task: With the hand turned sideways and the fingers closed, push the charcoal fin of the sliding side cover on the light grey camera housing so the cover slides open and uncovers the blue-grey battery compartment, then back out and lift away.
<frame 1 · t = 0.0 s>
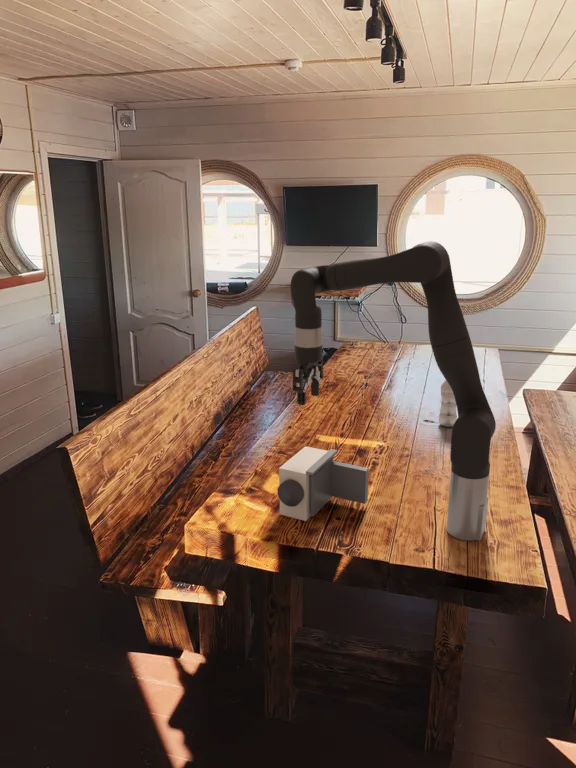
hand: (308, 399, 169), 29 cm above the table, tool pointing down, fingers open, 8 cm apart
camera housing: (305, 504, 172), on the table
side door: (339, 490, 165), point 7 cm above the table, slide at 0.0 cm
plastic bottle: (447, 426, 228), on the table
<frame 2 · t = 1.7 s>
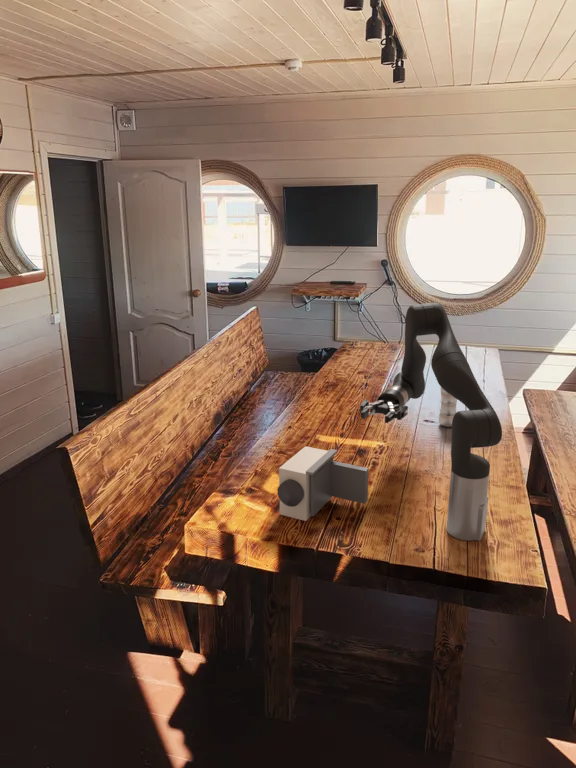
hand: (374, 417, 175), 22 cm above the table, tool horizontal, fingers open, 6 cm apart
nothing on the table moved.
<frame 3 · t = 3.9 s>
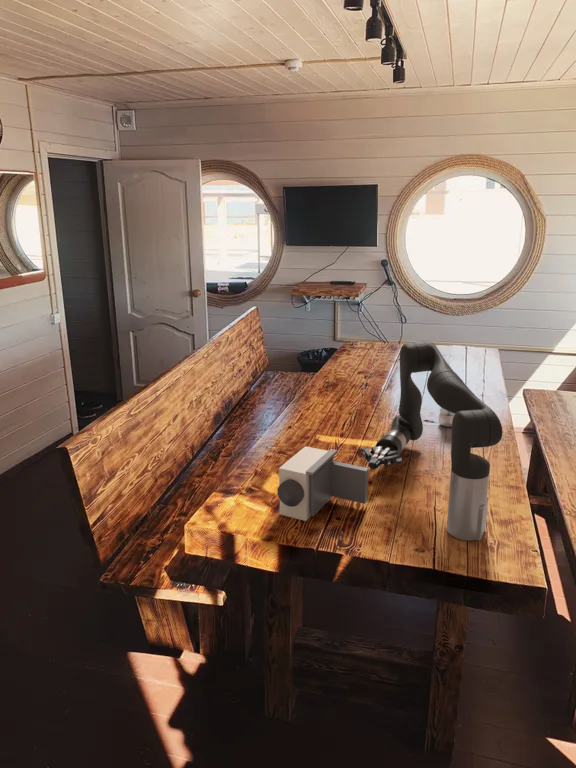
hand: (372, 466, 179), 7 cm above the table, tool horizontal, fingers closed
nothing on the table moved.
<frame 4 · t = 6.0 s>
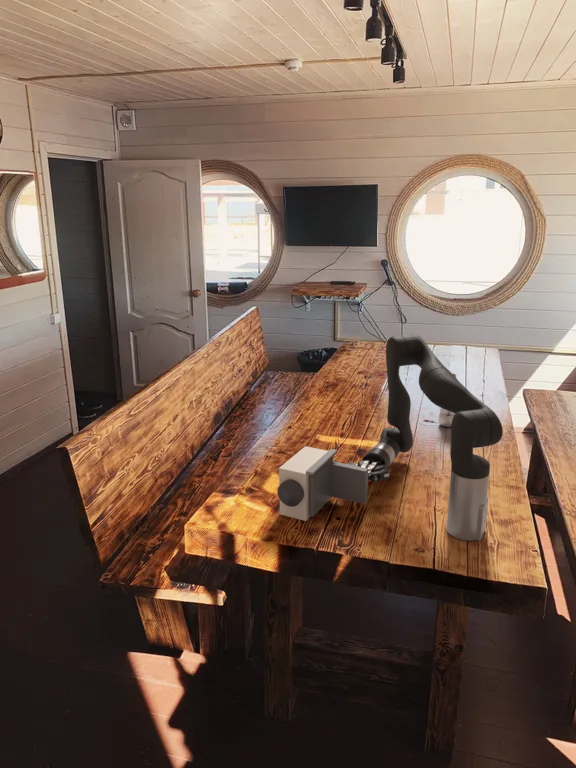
hand: (357, 482, 169), 7 cm above the table, tool horizontal, fingers closed
side door: (339, 490, 165), point 7 cm above the table, slide at 0.2 cm, touching gripper
everything else where it was.
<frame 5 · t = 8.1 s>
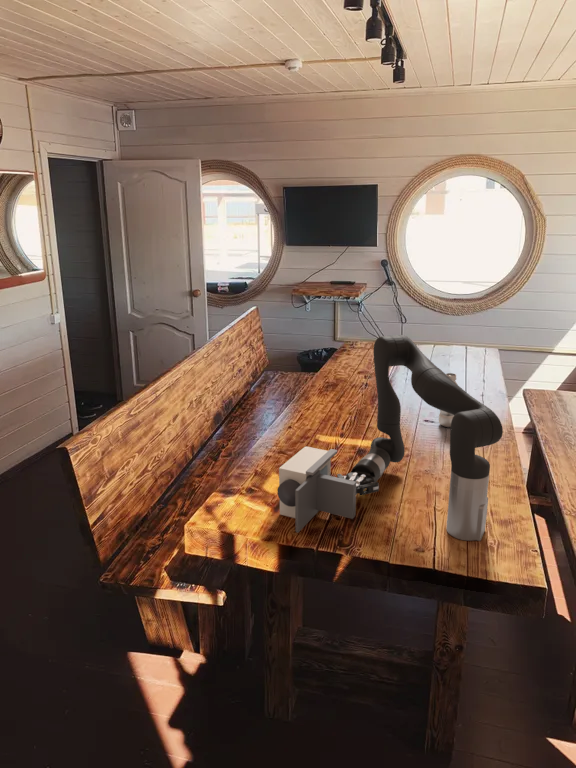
hand: (345, 496, 162), 7 cm above the table, tool horizontal, fingers closed
side door: (326, 504, 158), point 7 cm above the table, slide at 9.0 cm, touching gripper
everything else where it was.
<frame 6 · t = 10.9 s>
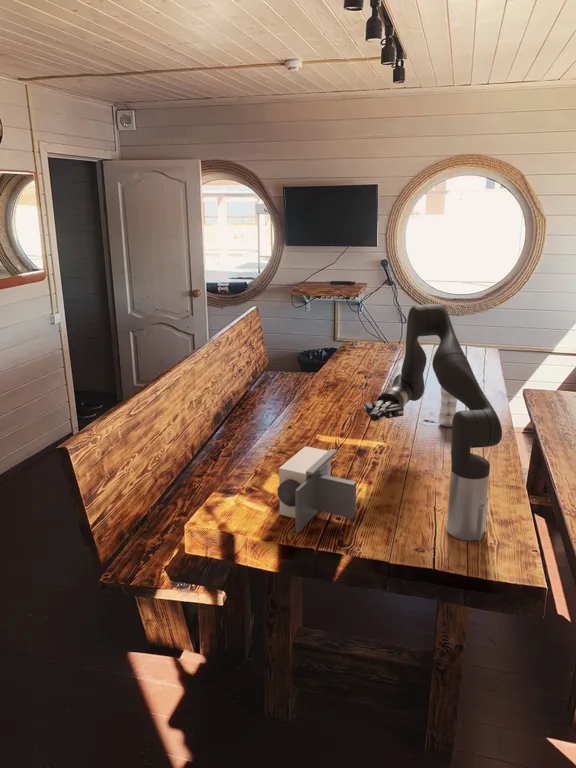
hand: (373, 417, 174), 22 cm above the table, tool horizontal, fingers closed
side door: (326, 504, 158), point 7 cm above the table, slide at 9.0 cm
everything else where it was.
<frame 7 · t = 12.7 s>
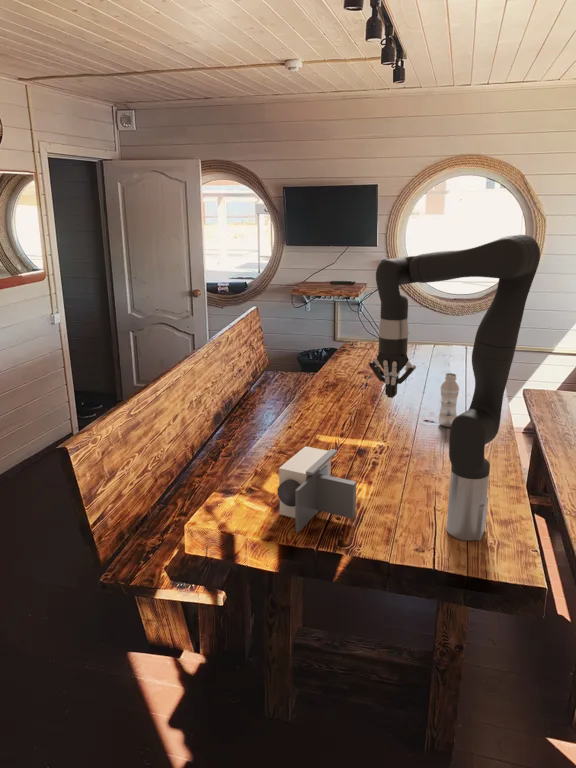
hand: (391, 396, 166), 31 cm above the table, tool pointing down, fingers closed
nothing on the table moved.
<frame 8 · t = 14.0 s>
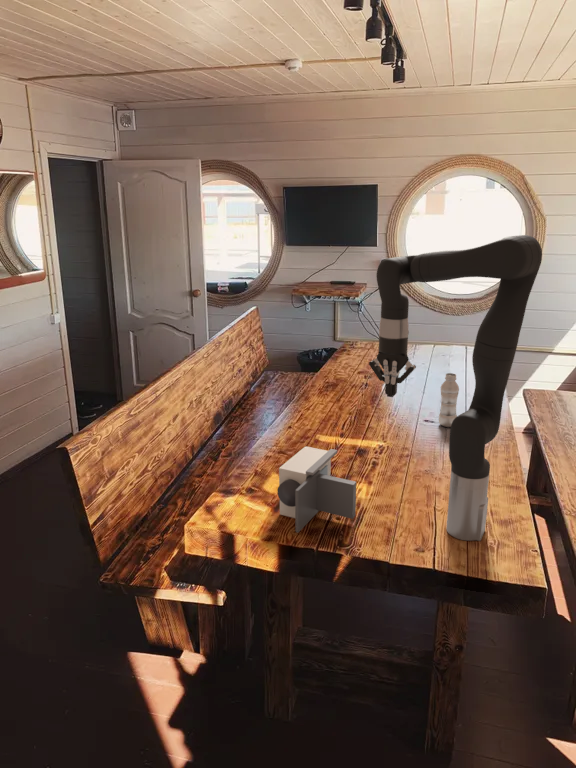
hand: (390, 396, 166), 31 cm above the table, tool pointing down, fingers closed
nothing on the table moved.
at the end: side door slide at 9.0 cm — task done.
